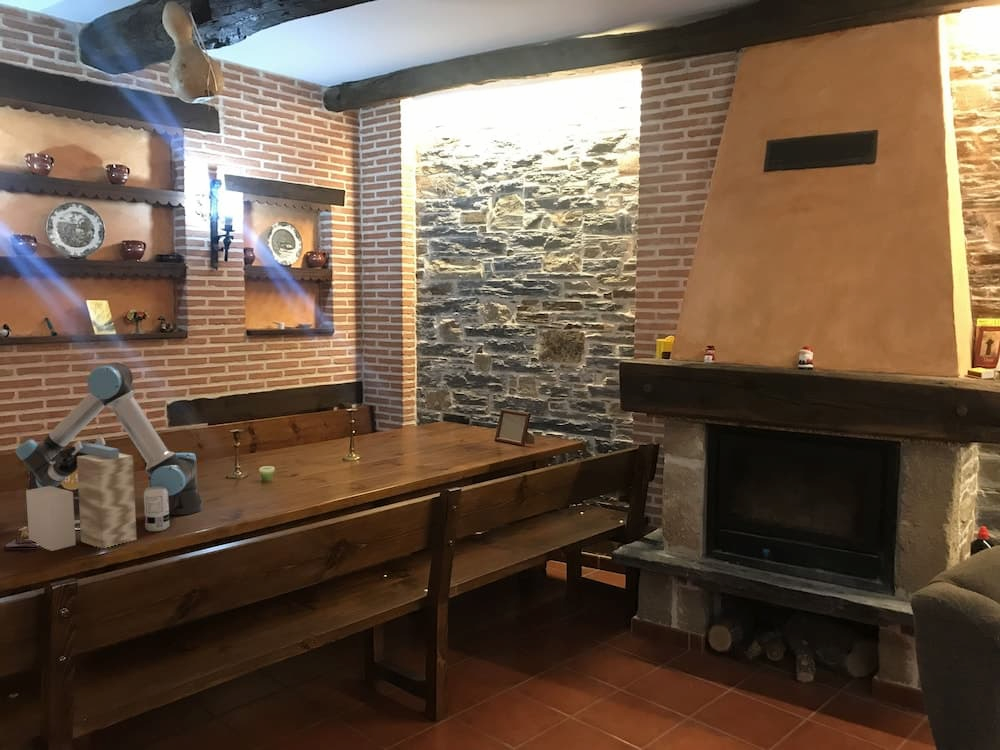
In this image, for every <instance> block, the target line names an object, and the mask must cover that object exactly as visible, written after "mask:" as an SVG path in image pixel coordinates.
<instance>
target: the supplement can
mask: <svg viewBox="0 0 1000 750" xmlns="http://www.w3.org/2000/svg"><path fill="white" fill-rule="evenodd" d="M143 504H144V505H143V506H144V507H143V508H144V512H143V513H144V529H145V530H147V531H148V532H154V531H155V532H162V531H165V530H167V529H168V528H169V527H170V515H169V502H168V491H167V489H166V487H163V486H155V487H152V486H150V487H147V488H145V490H144V492H143Z"/></svg>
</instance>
